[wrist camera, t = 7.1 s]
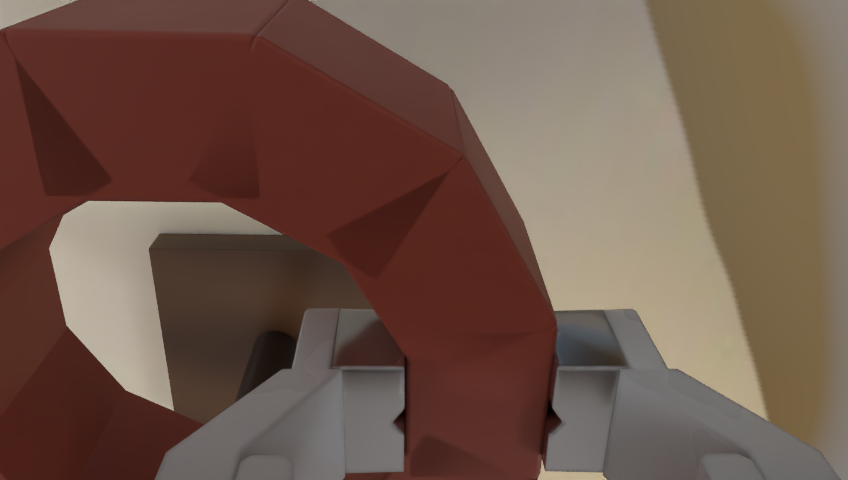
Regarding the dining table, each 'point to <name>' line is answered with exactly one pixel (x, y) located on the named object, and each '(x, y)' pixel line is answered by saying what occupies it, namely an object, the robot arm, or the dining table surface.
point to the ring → (263, 220)
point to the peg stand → (237, 311)
